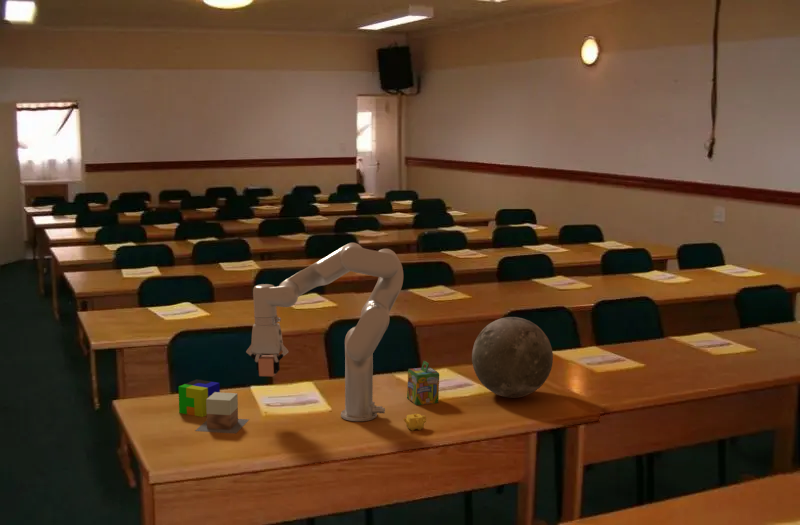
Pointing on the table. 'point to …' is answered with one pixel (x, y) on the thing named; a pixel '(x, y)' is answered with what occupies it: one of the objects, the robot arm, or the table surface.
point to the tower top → (222, 403)
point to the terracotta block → (266, 365)
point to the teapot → (415, 421)
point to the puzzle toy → (196, 396)
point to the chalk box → (423, 385)
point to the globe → (512, 357)
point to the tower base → (222, 420)
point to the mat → (233, 430)
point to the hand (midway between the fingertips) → (268, 372)
